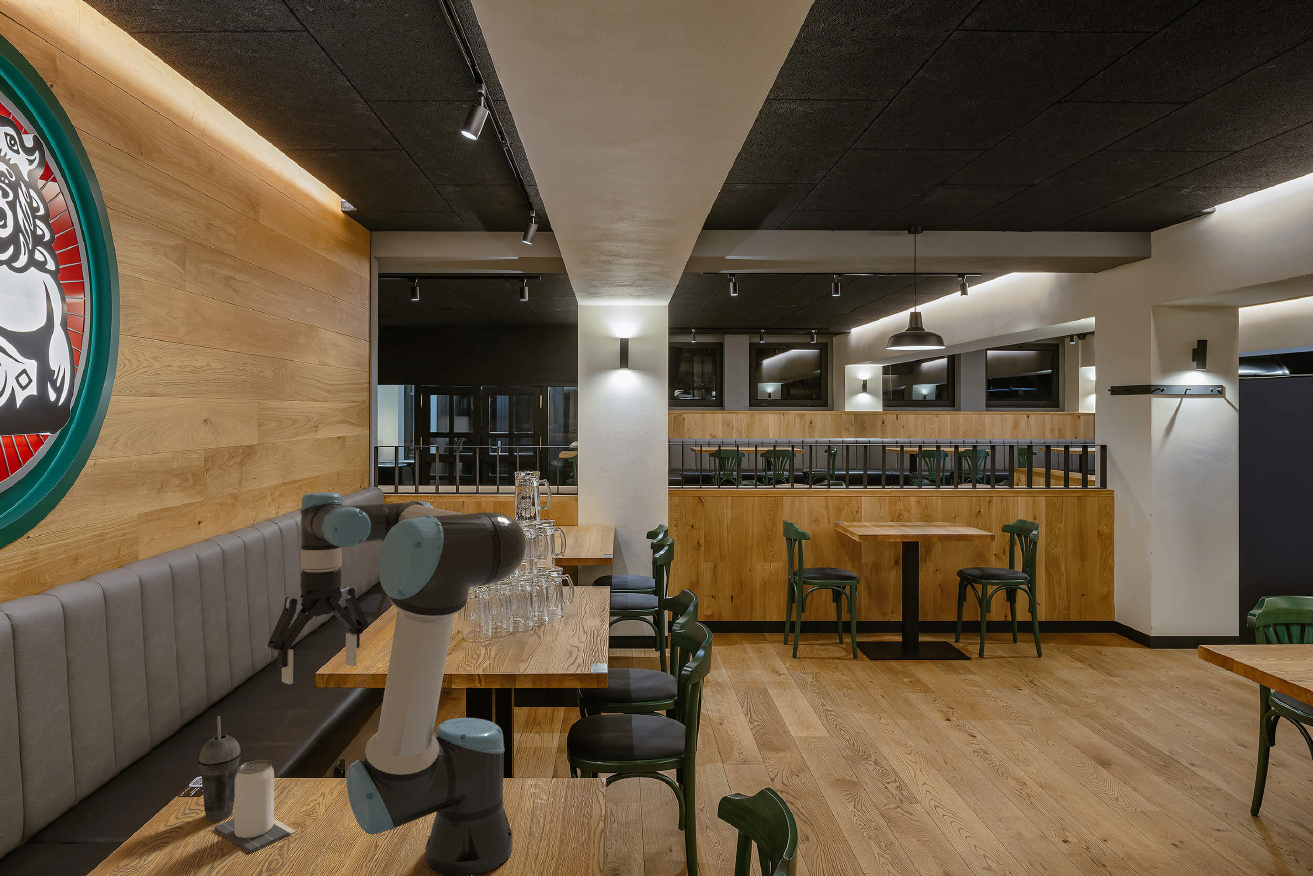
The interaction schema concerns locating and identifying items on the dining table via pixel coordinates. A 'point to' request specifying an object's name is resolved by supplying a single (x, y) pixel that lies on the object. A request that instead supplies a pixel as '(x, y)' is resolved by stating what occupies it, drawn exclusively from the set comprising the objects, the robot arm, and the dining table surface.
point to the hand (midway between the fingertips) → (320, 673)
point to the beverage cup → (219, 775)
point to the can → (254, 799)
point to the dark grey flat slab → (255, 843)
